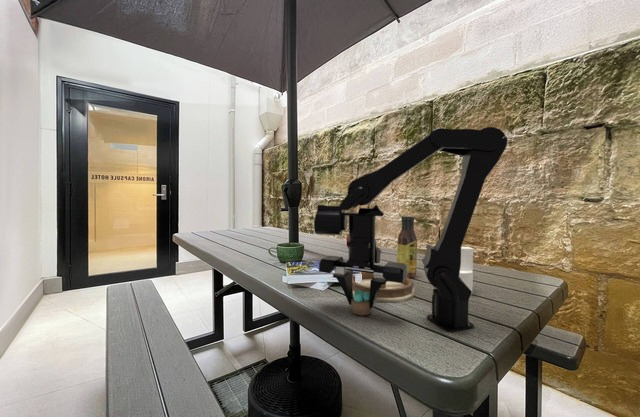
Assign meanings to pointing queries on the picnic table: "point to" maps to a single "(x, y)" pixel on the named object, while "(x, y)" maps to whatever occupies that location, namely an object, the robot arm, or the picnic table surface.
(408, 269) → the sauce bottle
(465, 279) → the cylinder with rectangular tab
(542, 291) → the picnic table surface
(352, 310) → the toy potted plant
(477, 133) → the robot arm
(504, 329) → the picnic table surface
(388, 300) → the ring tray
